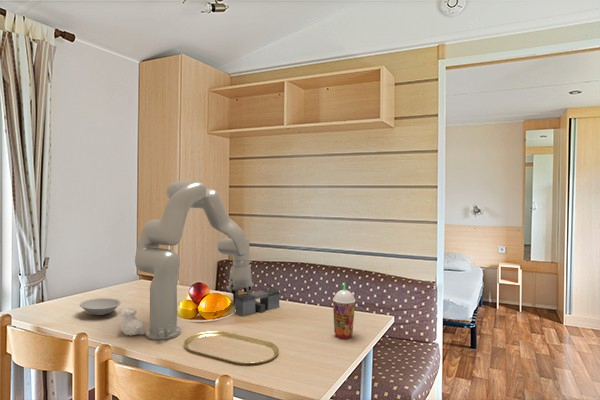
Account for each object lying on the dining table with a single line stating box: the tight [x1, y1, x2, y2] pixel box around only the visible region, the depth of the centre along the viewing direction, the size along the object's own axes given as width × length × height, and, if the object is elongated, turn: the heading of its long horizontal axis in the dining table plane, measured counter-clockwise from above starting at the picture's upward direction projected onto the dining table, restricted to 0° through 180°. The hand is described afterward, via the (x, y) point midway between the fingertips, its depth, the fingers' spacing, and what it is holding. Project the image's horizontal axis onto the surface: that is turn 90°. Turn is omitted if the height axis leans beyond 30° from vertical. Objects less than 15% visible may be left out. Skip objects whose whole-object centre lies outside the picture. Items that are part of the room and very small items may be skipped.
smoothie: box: [332, 282, 356, 340], centre depth 152 cm, size 8×8×20 cm
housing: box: [234, 288, 280, 317], centre depth 182 cm, size 6×20×8 cm, turn 133°
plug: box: [232, 290, 266, 313], centre depth 186 cm, size 20×4×5 cm, turn 42°
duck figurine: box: [119, 306, 146, 337], centre depth 151 cm, size 12×8×11 cm
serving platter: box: [183, 330, 280, 366], centre depth 139 cm, size 19×35×2 cm, turn 63°
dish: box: [79, 297, 122, 316], centre depth 172 cm, size 18×14×5 cm
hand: (240, 301), depth 192 cm, fingers closed on plug, 4 cm apart
